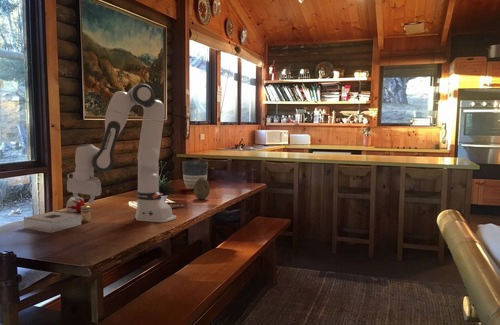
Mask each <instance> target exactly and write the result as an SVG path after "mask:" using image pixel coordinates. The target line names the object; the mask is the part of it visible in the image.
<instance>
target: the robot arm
mask: <svg viewBox="0 0 500 325" xmlns="http://www.w3.org/2000/svg"><path fill="white" fill-rule="evenodd" d="M133 106H141V107H142V109H143V115H142V123H141V130H140V136H139V142H138V148H137V149H138V150H137V192H136V199H137V205H136V212H135V216H134V218H135V219H136V220H135V221H139V222H150V223H151V222H152V223H166V222H167V223H168V222H170V221H173V220H175V219H176V220H177V215H174V214H173V209H172V207H171V205H169V204H168V203H167V202H166V201H165V200H164V199H163V198H162V196H163V195H164V193H162V192H160V189H159V188H160V184H159V183H160V179H159V178H160V175H159V171H160V170H159V168H160V167H159V160H160V153H161V145H162V144H161V143H162V137H163V136H162V135H163V128H164V122H165V105H164V103H163V102H162V101H161V100H158V99H157V98H156V96H155V92H154V90H153V88H152V87H151V86H150V85H149V84H147V83H137V84H135V85H134V86H132V87H131V88H129V89H128V90H127V91H123V90H118V91H116V92H113V95H112V96H111V98H110V101H109V103H108V106H107V108H106V113H105V117H104V128H105V130H104V136H103V138H102V142H101V145H100V148H98V147H96V146H95V145H93V144H92V143H86V144H80V145H78V146H77V147H76V150H75V156H74V157H75V158H74V159H75V160H74V162H75V168H74V171H73V172H71V173H68V174H67V178H68V179H67V181H66V190H67V192H68V193H72V197H74V198H75V201H77V202H78V201H79V198H78V197H79V194H82V195H89V197H90V199H89V200H88V204H90V205H92V204H94V200H95V198H96V197H97V196H101V195H102V184H101V180H100V178H99V177H98V176H97V177H96V176H94V171H95V172H97V173H101V174H104V173H107V172H110V171H111V170H112V169H113V167H114V164H115V163H114V162H115V161H114V150H115V148H116V143H117V140H118V137H119V135H120V133H121V132H122V131H123V129H124V128H125V125H126V124H127V122H128V119H129V115H130V112H131V109H132V108H133Z"/></svg>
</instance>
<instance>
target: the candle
mask: <svg viewBox="0 0 500 325" xmlns="http://www.w3.org/2000/svg"><path fill="white" fill-rule="evenodd" d="M78 198H79V201H78V202H77V201H75V198H74V196H71V197H70V198H69V199H68V200H67V201H66V205H65V206H66V212H67V211H68V212H69V213H76V214H81V206H85V205H86V204H85V201H84V198H83V197H80V196H78Z"/></svg>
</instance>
